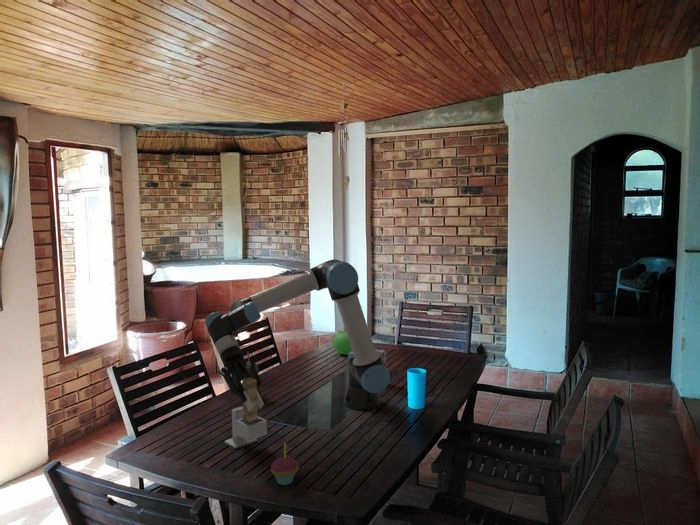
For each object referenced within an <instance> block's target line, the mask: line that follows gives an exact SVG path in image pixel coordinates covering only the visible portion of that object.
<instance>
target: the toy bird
mask: <svg viewBox="0 0 700 525" xmlns="http://www.w3.org/2000/svg"><path fill="white" fill-rule="evenodd" d="M332 344H333V347H334V349H335V351H337V353H339V354H341V355H345V356H348V354H349V352H351V351H353V350H352V347H351V344H350V341H349V338H348V335H347V332H346V330H343V331H342V330H337V334H336V335H334V339H333V343H332Z"/></svg>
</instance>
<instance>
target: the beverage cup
mask: <svg viewBox="0 0 700 525" xmlns="http://www.w3.org/2000/svg"><path fill="white" fill-rule="evenodd" d="M246 355H247V362H251V361H250V354H249V351H247V354H246ZM254 366H255V369H256V371H257V374H258V375H259V373H260V369H259V365H258V364H257V363H256V362H254ZM246 367H247V365H246ZM247 369H248V372H249V368H247ZM249 373H250V372H249ZM250 375H251V374H250Z"/></svg>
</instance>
